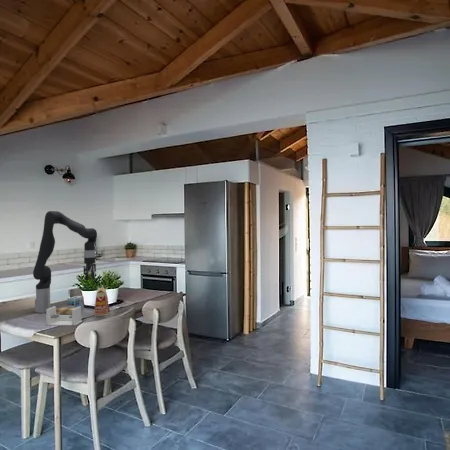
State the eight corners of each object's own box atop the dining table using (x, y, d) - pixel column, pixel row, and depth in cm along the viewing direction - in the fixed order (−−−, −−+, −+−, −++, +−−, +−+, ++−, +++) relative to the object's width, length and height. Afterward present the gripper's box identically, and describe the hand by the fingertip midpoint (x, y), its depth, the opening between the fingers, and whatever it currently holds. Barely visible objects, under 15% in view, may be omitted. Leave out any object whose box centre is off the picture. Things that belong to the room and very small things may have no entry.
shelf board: (56, 313, 237) (55, 309, 237) (60, 312, 242) (60, 307, 242) (75, 314, 235) (75, 309, 235) (79, 312, 240) (79, 307, 240)
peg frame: (45, 325, 225) (45, 309, 225) (53, 321, 234) (53, 306, 234) (75, 325, 223) (74, 309, 223) (82, 321, 232) (82, 306, 232)
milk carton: (97, 312, 254) (96, 285, 254) (110, 312, 255) (109, 284, 254) (93, 316, 245) (93, 287, 244) (107, 315, 245) (106, 286, 245)
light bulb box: (75, 313, 252) (75, 298, 252) (66, 313, 253) (66, 298, 253) (84, 310, 262) (83, 295, 262) (76, 309, 264) (75, 295, 264)
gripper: (89, 255, 257) (89, 277, 258) (79, 257, 243) (80, 281, 243) (99, 255, 257) (99, 277, 257) (90, 257, 243) (90, 281, 243)
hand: (89, 279), depth 250 cm, fingers open, 8 cm apart
